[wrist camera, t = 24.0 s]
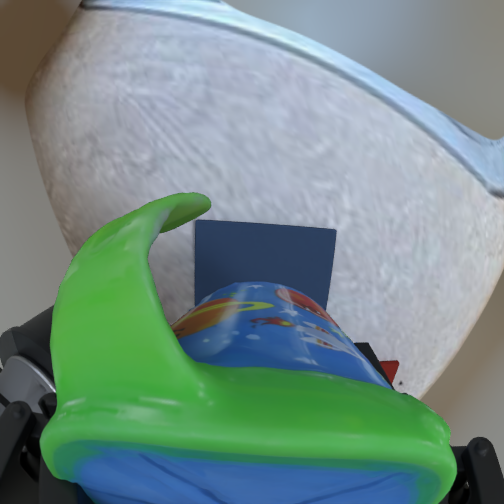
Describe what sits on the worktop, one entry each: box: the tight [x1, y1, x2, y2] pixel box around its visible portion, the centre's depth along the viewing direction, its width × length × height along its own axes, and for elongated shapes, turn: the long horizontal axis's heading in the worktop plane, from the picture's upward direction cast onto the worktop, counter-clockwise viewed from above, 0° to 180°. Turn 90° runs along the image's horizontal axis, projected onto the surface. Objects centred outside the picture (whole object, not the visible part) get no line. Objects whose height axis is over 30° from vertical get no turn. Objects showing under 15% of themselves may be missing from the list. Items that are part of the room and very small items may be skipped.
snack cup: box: [40, 192, 457, 504], centre depth 9 cm, size 16×10×10 cm
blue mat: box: [195, 220, 337, 311], centre depth 23 cm, size 11×11×1 cm
